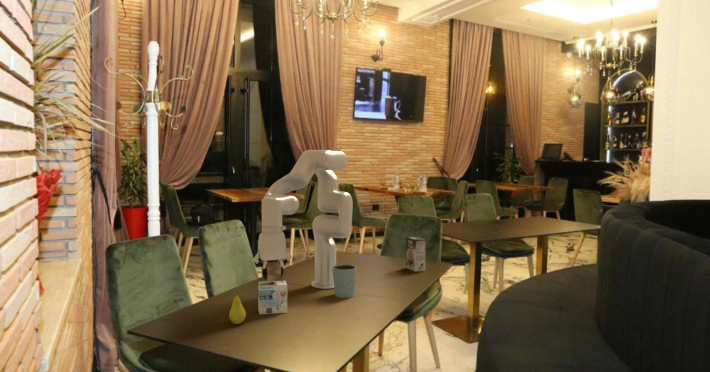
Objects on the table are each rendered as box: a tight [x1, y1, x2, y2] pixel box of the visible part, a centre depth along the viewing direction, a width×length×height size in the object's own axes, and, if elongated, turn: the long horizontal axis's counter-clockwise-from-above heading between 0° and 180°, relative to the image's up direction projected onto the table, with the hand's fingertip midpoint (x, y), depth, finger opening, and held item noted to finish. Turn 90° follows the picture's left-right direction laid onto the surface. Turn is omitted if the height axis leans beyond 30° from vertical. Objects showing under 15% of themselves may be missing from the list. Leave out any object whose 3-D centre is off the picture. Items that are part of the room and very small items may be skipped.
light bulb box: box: [257, 280, 288, 315], centre depth 194 cm, size 11×7×11 cm, turn 105°
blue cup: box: [332, 263, 357, 299], centre depth 215 cm, size 10×10×12 cm
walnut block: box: [265, 261, 282, 282], centre depth 193 cm, size 5×5×6 cm
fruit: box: [228, 291, 247, 325], centre depth 179 cm, size 6×6×12 cm
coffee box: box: [405, 236, 427, 272], centre depth 261 cm, size 9×6×16 cm
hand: (272, 277), depth 193 cm, fingers closed on walnut block, 5 cm apart
